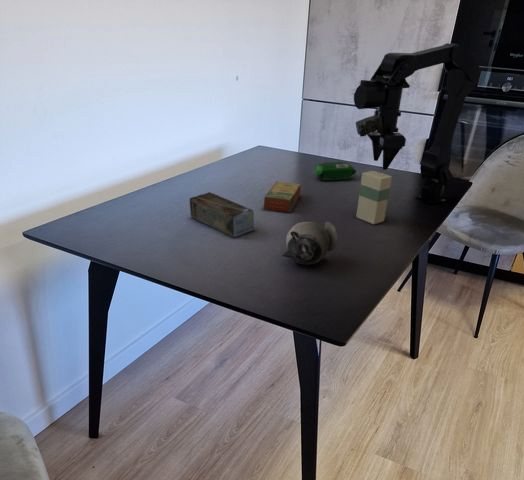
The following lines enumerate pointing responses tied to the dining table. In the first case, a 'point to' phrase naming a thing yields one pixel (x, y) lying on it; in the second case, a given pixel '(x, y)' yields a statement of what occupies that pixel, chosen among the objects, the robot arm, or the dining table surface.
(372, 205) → the tea box
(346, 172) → the snack package
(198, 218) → the beverage carton
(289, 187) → the carton
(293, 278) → the dining table surface
